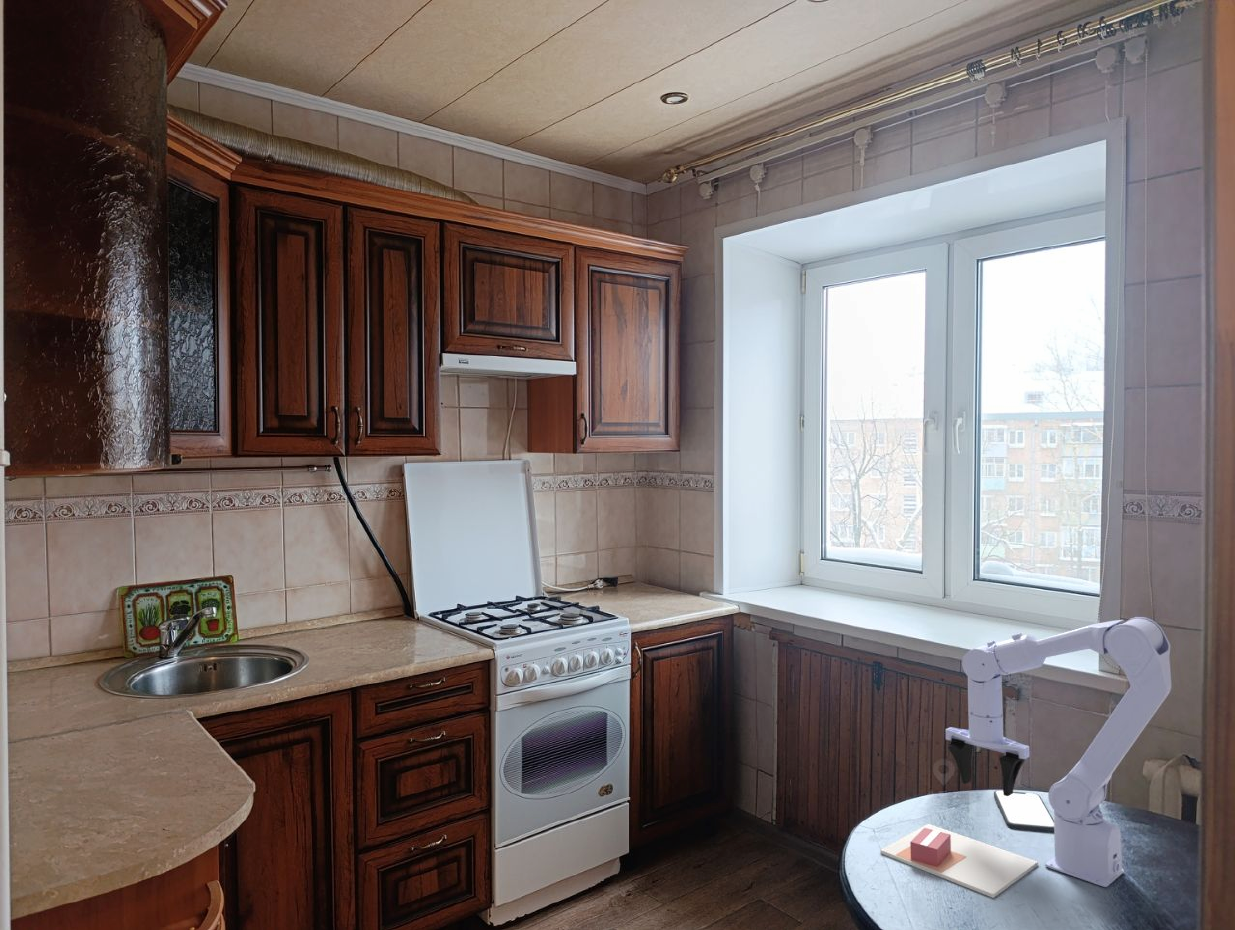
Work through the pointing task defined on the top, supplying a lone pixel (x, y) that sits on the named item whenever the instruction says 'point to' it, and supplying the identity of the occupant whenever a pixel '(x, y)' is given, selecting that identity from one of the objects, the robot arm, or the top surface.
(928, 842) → the card box
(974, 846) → the mat
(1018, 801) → the smartphone
